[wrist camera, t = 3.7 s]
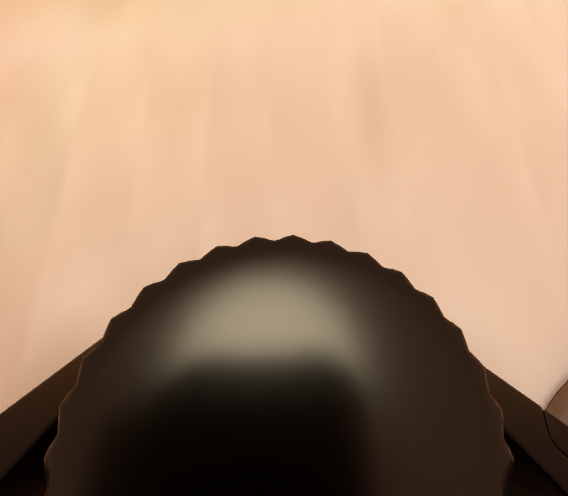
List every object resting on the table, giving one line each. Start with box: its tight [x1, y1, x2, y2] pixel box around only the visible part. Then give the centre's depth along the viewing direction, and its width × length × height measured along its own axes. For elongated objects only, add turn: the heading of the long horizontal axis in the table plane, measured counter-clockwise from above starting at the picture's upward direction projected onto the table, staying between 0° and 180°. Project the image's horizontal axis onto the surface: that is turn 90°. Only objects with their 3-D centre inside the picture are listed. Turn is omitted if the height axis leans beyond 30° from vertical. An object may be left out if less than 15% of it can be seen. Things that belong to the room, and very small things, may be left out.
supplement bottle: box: [44, 235, 514, 496], centre depth 9 cm, size 7×7×12 cm
